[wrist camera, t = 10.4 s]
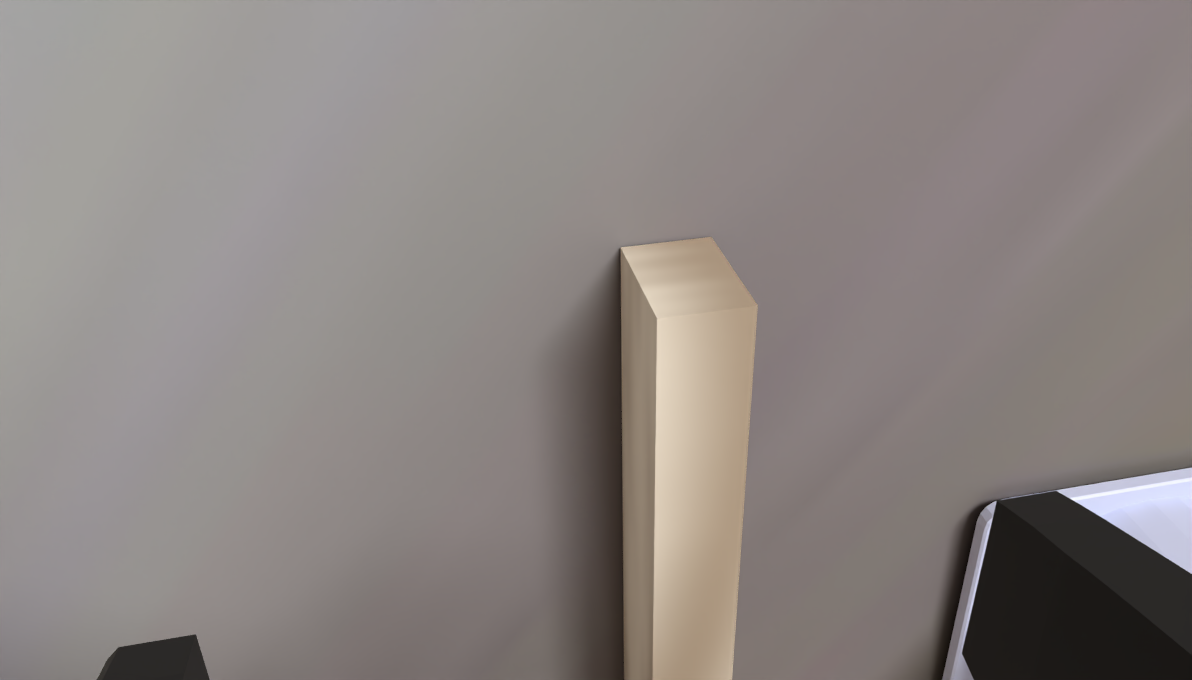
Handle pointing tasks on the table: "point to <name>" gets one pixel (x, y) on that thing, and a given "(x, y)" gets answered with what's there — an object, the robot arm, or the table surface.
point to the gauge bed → (683, 456)
